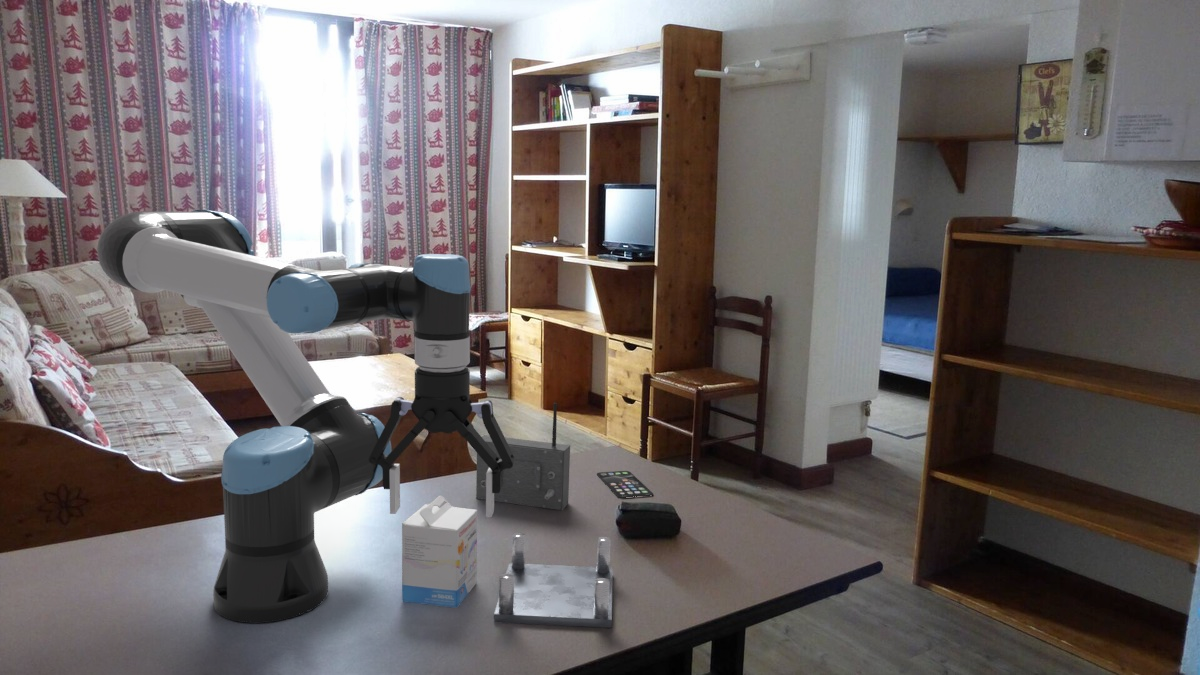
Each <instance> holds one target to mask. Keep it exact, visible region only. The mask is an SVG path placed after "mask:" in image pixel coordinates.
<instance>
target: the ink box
mask: <svg viewBox="0 0 1200 675" xmlns="http://www.w3.org/2000/svg"><path fill="white" fill-rule="evenodd" d="M401 524H402V525H401V532H402V533H401V540H402V541H401V544H402V545H401V547H402V548H401V553H402V555H401V556H402V558H401V560H402V562H401V563H402V564H401V570H402V571H401V594H402V595H401V596H402V597H401V599H402V602H403V603H412V604H422V605H429V606H438V607H446V608H454V609H455V608H458V607H459V606H460V604H461V603H462V602H463V601H464V600H465V598H466V597H467V595H468V594H469V593H470V591H471V590H472V589H473V588H474V587H475V585H476V584H477V582H478V581H477V576H478V575H477V573H478V569H477V566H478V564H477V563H478V562H477V561H478V560H477V558H478V557H477V556H478V555H477V554H478V552H477V550H478V544H477V543H478V509H474V508H473V509H472V508H464V507H458V506H457V507H456V506H453V505H451V503H449V501H448V500H447V499H446V498H445V497H444V496H443V495H438V496H437V497H436V498H435V499H433V501H431V502H430V503H425V504H423V505H422V506H421V507H420V508H419V509H418V510H417V511H415V512H414V513H413V514H412V515H411V516H409V517H407V519H406V520H404V521H403V522H402V523H401Z"/></svg>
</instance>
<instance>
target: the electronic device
mask: <svg viewBox="0 0 1200 675" xmlns="http://www.w3.org/2000/svg"><path fill="white" fill-rule="evenodd" d="M557 404H558V403H557V402H554V403H553V417H552V419H553V420H552V432H551V433H552V438H551V440H552V441H551V442H548V441H538V440H537V441H536V440H531V439H529V440H528V439H523V438H522V439H521V438H520V439H519V438H513V437H505V436H504V437H505V439H506V441H507V443H508V445H509V447H510V449H511V451H512V453H513V455H514V457H515V461H514V464H513V466H512V468H509V469H508V468H507V469H504V470H502V487H501V490H500V492H499V493H494V502H499V503H507V504H513V505H514V504H515V505H522V506H527V507H535V508H542V509H543V508H544V509H550V510H557V511H563V510H564V509H565V508H566V506H567V505H568V504H569V497H570V496H569V491H570V489H569V488H570V468H571V467H570V465H571V463H570V461H571V459H570V458H571V444H564V443H557V423H558V422H557V419H558V417H557V416H558V414H557V411H558V408H557V406H558V405H557ZM481 437H482V438H483V439H484V441H485V442H486V443H487V444H488V445H489V446H490V448H491V449H492V450H493V451H494V452H495V454H496V455H497V456H498V457H499V458H500V456H499V454H498V452H497V450H496V448H495V446H494V444H493V442H492V440H491V438H490V436H489V434H488V435H487V434H485V435H483V436H481ZM500 459H501V458H500ZM488 469H489V466H488V465H487V464H486V463H485V462H484V460H483V459H482V458H481V457H480V456H479V455H478V453H477V452H476V486H475V488H476V491H475V496H476V497H475V498H476V499H477V500H478V499H479V500H484V501H486V473H487V471H488Z"/></svg>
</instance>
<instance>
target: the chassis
mask: <svg viewBox="0 0 1200 675" xmlns="http://www.w3.org/2000/svg"><path fill="white" fill-rule="evenodd" d="M611 543H612V540H611V538H610V537H607V536H599V537H597V544H596V545H597V546H596V547H597V548H596V566H578V565H559V564H558V565H555V564H540V563H539V564H537V563H536V564H535V563H525V562H526V558H525V557H526V534H524V533H523V532H514V533H513V534H511V562H509V563H508V565H507V569H506V571H505V572H506V573H501V574H500V575H499V578H498V579H499V580H498V581H499V582H498V584H499V585H498V599H497V603H496V606H495V610H494V613H493V623H503V624H504V623H507V624H525V625H526V624H527V625H547V626H563V627H564V626H566V627H567V626H569V627H586V628H606V629H607V628H610V629H611V628H612V620H613V619H612V617H613V616H612V615H613V576H614V575H613V573H614V568H613V567H611V566H610V565H611V564H610V563H611Z"/></svg>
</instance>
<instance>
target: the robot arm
mask: <svg viewBox="0 0 1200 675" xmlns="http://www.w3.org/2000/svg"><path fill="white" fill-rule="evenodd" d="M253 245H254V243H253V239H252V237H251V234H250V233H249V231H248V230H247V227H246V226H245V225H244V224H243V223H242V222H241V221H240V220H239V219H237V218H236V217H234V216H233V215H231V214H229V213H226V212H224V211H217V210H209V209H195V210H191V211H165V210H164V211H163V210H162V211H160V210H159V211H157V210H156V211H148V210H147V211H145V210H142V211H135V212H130V213H126V214H123V215H121V216H119V217H117V218H115V219H114V220H113V221H111V222H110V223H109V224H108V225H107V226H106V227H105V228H104V230H103V231H102V232H101V234H100V237H99V240H98V241H97V247H96V248H97V249H96V251H97V259H98V263H99V265H100V267H101V269H102V271H103V272H104V273H105V274H106V276H107V277H108V278H109V279H110V280H112V281H113V282H115V283H117V284H118V285H120V286H122V287H125V288H127V289H131V290H134V291H139V292H143V293H147V294H156V293H161V292H163V291H167V292H170V293H173V294H178V295H180V296H181V297H182V299H183V300H184V302H185V303H186V305H188V306H191V307H194V308H199V309H200V308H201V309H202V311H204V313H205V315H206V316H207V317H208V319H209V321H210V322H211V323H212V326H214V328H215V330H216V331H217V332H218V334H219V336H220V337H221V338H222V340H223V341H224V343H225V344H226V347H228V348H229V350H230V352H231V353H232V355H233V356H234V358H235V359H236V361H237V362H238V364H239V365H240V367H241V368H242V370H243V371H244V372H245V375H246V376H247V377H248V378H249V380H250V382H251V383H252V384H253V387H255V389H256V391H257V392H258V393H259V395H260V396H261V398H262V400H264V402H265V404H266V406H267V407H268V408H269V410H270V411H271V413H272V414H273V416H274V418H276V420H277V422H278V423H279V425H278V426H273V427H271V428H260V429H256V430H253V431H250V432H247V433H245V434H243V435H240V436H239V437H237V438H236V439H234V440H233V441H232V442H230V443H229V445H227V447H226V448H225V450H224V452H223V455H222V472H221V476H220V480H221V485H222V497H223V498H222V499H223V514H224V516H223V517H224V518H223V519H224V539H225V541H224V542H225V543H224V544H225V549H224V554H223V557H222V559H221V563H220V566H219V569H218V573H217V576H216V580H215V583H214V585H213V593H212V596H213V607H214V610H215V612H217V613H218V614H219V615H220V617H221V616H222V617H223V618H225V619H228V620H231V621H235V622H240V623H255V624H256V623H272V622H278V621H283V620H287V619H291V618H295V617H297V616H301V615H302V614H306V613H308V612H310V611H311V610H313V609H315V608H316V607H318V606H320V605H321V604H322V603H323V602H324V600H325V599H327V596H328V595H329V576H328V571H327V569H326V567H325V564H324V561H323V559H322V556H321V554H320V552H319V549H318V546H317V544H316V541H315V513H316V512H319V511H321V510H324V509H325V508H328V507H330V506H333V505H335V504H338V503H340V502H342V501H345V500H347V499H350V498H351V497H355V496H358V495H362V494H364V493H365V492H366V491H367V490H369V489H370V488H373V487H375V486H376V485H377V484H379V483H380V482H381V481H382V487H383V489H384V490H389V514H390V515H395V514H396V513H397V512H398V511H399V509H400V508H401V469H400V468H401V464H400V463H395V461H397V459H399V457H400V456H401V454H402V453H403V452H404V451H405V450H406V449H407V448H408V447H409V446H410V445H411V443H412V442H413V441H414V440H415V439H416V438H417V437H418V436H419V435H420V433H422V431H423V430H426V431H428V432H429V433H430V434H437V433H443V434H453V433H455V432H458V434H459V435H460V437H461V438H464V439H465V441H466V442H467V443H468V444H469V445H470V446H471V448H472V449H474V451H475V452H476V454H477V453H478V455H479V456H480V457H481V458H482V459H483V460H484V462H485V463H486V464H487V465H488V466H489V469H488V471H487V473H486V500H485V517H486V518H492V516H493V514H494V511H495V501H494V493H499V492H500V490H501V487H502V470H504V469H507V468H508V469H509V468H512V466H513V464H514V461H515V457H514V455H513V453H512V451H511V449H510V447H509V445H508V443H507V441H506V439H505V436H504V433H503V431H502V430H501V428H500V427H501V426H500V425H499V423H498V421H497V420H496V417H495V416H494V415H495V414H494V408H493V402H492V401H491V400H490V399H486V400H484V401H483V402H472V400H471V395H470V390H471V387H470V380H471V378H470V369H469V367H468V365H469V364H470V362H471V360H470V359H471V337H470V310H471V309H470V306H471V305H470V303H471V302H470V301H471V291H472V285H471V280H470V279H471V278H470V265H469V261H468V259H467V258H466V257H465V256H462V255H458V254H447V253H446V254H442V253H425V254H424V253H423V254H419V255H417V256H415V258H414V261H413V266H412V267H410V266H409V267H407V266H399V265H389V264H380V263H377V262H370V263H355V264H351V265H350V266H349V267H348V268H338V269H329V270H318V269H312V268H310V267H309V268H308V267H305V266H298V265H295V264H291V263H287V262H282V261H278V260H274V259H269V258H264V257H260V256H255V250H253V249H252V246H253ZM385 319H388V320H397V321H398V320H399V321H408V322H413V330H414V364H415V365H417V367H416V369H415V370H414V399H413V400H407V399H404V398H403V397H402V396H398V397H397V398H395V399H394V400H393V401H392V403H391V406H390V407H391V408H390V415H389V418H388V420H387V422H386V424H385V425H384V424H383V422H382V421H381V420H380V419H378V417H376V416H374V415H373V414H368V413H364V412H359V413H356V411H355V410H354V408H353V407H352V406H351V404H350V403H349V401H348V399H347V398H345V397H344V396H339V395H334V394H331V393H330V392H329V389H328V388H327V387H326V385H325V384H324V383H323V382H322V380H321V379H320V377H319V376H318V374H317V372H316V371H315V370H314V368H313V367H312V366H311V364H310V363H309V361H308V360H307V358H306V357H305V355H304V354H303V352H302V351H301V349H300V348H299V347H298V345H297V344H296V343H295V341H294V339H293V338H292V337H291V335H290V334H301V333H302V334H303V333H304V334H314V333H319V332H322V331H324V330H329V329H334V328H339V327H344V326H345V327H346V326H350V325H355V324H362V323H366V322H372V321H378V320H385ZM409 410H411V411H412V413H413V414H414V416H415V418H417V420H418V421H417V422H416V424H414V426H412V427H411V429H410V430H409V432H407V434H406V435H405V436H404V437H403V438H402V439H401V440H400V442H399V443H398V444H397V445H395V447H394V448H393V449H392V442H391V439H392V436H393V435H394V433H395V431H396V429H397V427H398V425H399V423H400V421H401V420H402V417H403V416H406V414H407V413H409ZM472 413H475V414H476V416H477V418H479V419H482V423H483V425H484V427H485V429H486V431H487V433H488V435H489V436H490V438H491V440H492V442H493V444H494V446H495V448H496V450H497V452H498V454H499V456H500V458H501V459H500V458H499V457H498V456H497V455H496V454H495V452H494V451H493V450H492V449H491V448H490V446H489V445H488V444H487V443H486V442H485V441H484V439H483V438H482V436H481V434H480V433H479V431H477V430H476V429H475V427H474V425H473V423H472V422H471V421H470V420H469V419H468V418H469V417H470V415H471V414H472Z"/></svg>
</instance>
